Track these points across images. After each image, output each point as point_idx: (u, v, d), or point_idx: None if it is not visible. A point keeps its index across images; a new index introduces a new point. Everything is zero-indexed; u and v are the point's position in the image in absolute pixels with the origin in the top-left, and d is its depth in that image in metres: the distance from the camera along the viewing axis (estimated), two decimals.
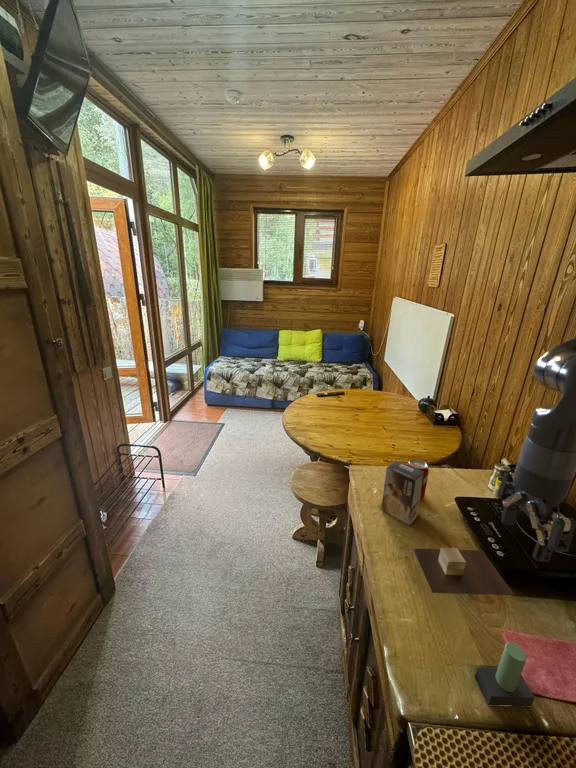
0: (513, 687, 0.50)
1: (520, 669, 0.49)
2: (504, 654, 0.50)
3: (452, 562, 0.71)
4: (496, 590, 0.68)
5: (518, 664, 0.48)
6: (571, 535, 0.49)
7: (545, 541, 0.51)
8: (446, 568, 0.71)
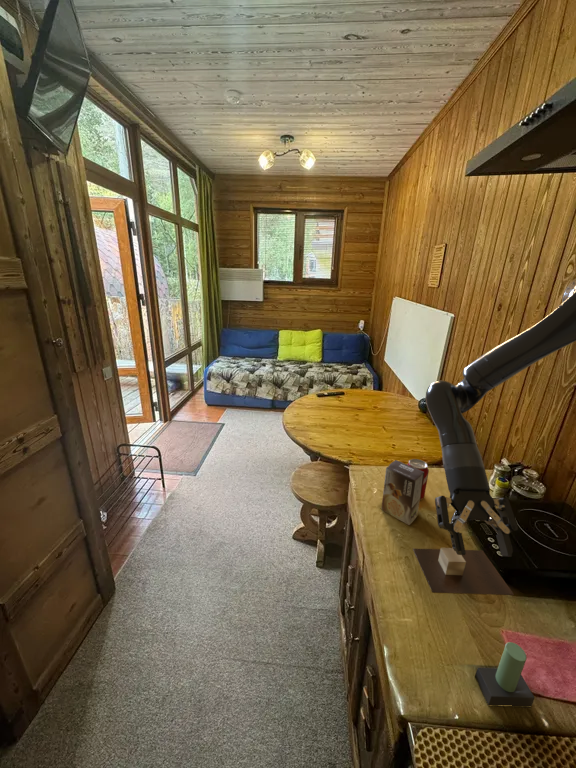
0: (513, 687, 0.50)
1: (520, 669, 0.49)
2: (504, 654, 0.50)
3: (452, 562, 0.71)
4: (496, 590, 0.68)
5: (518, 664, 0.48)
6: (441, 509, 0.61)
7: None
8: (446, 568, 0.71)
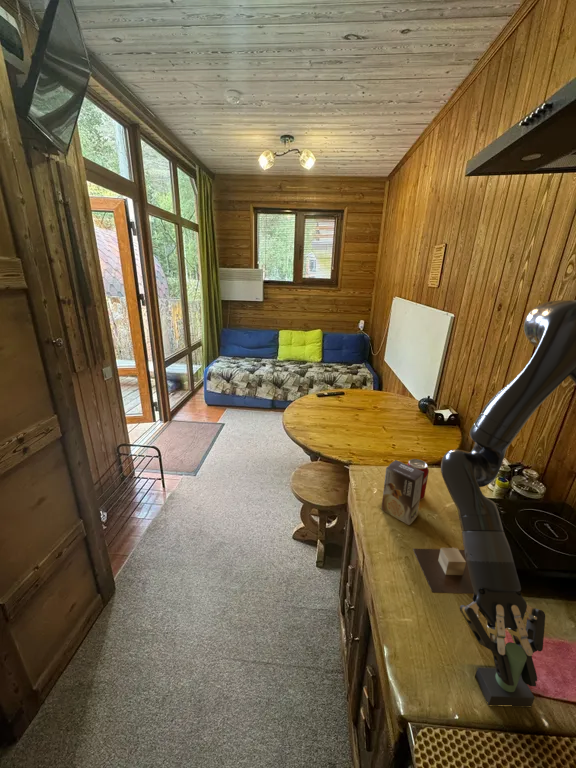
0: (513, 687, 0.50)
1: (520, 669, 0.49)
2: None
3: (452, 562, 0.71)
4: None
5: (518, 664, 0.48)
6: (474, 626, 0.51)
7: None
8: (446, 568, 0.71)
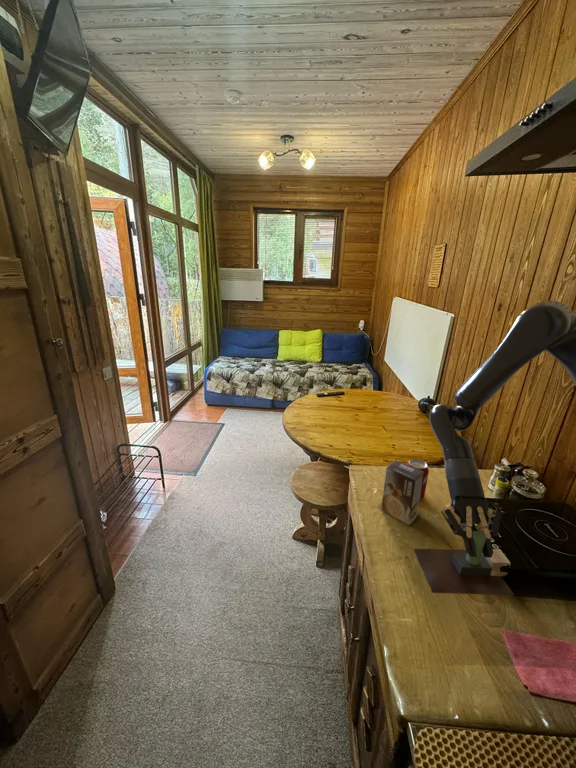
0: (477, 561, 0.71)
1: (481, 546, 0.70)
2: (471, 538, 0.71)
3: (497, 563, 0.71)
4: (496, 590, 0.68)
5: (480, 542, 0.70)
6: (451, 520, 0.72)
7: None
8: None
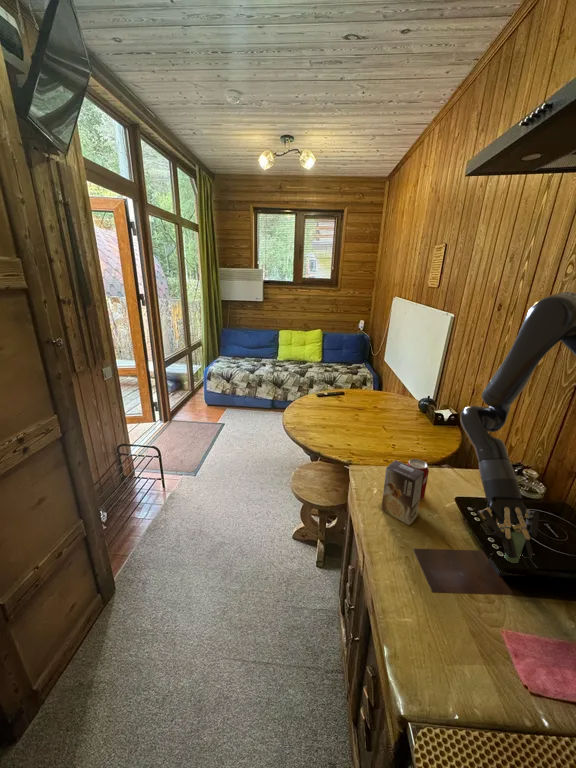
0: (516, 562, 0.71)
1: (521, 547, 0.70)
2: (510, 539, 0.71)
3: None
4: (496, 590, 0.68)
5: (519, 543, 0.70)
6: (489, 521, 0.72)
7: None
8: None
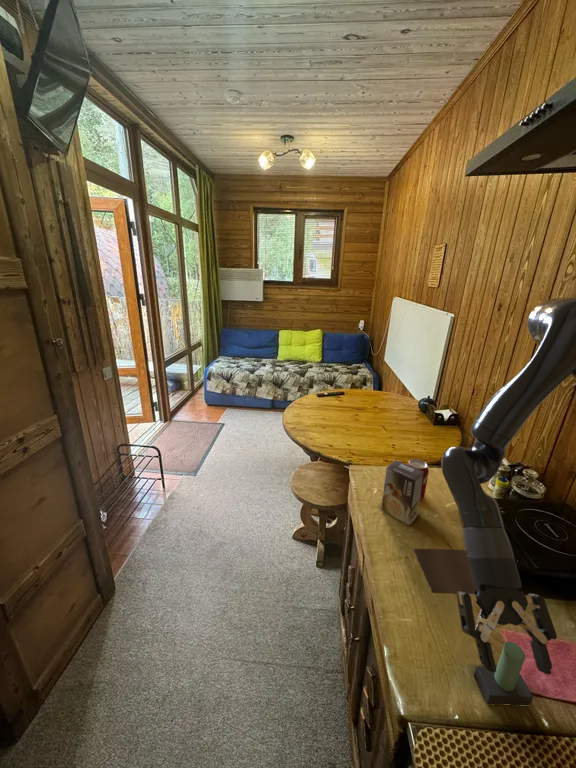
0: (512, 687, 0.50)
1: (519, 668, 0.49)
2: (503, 653, 0.50)
3: None
4: None
5: (516, 663, 0.48)
6: (465, 610, 0.52)
7: None
8: None
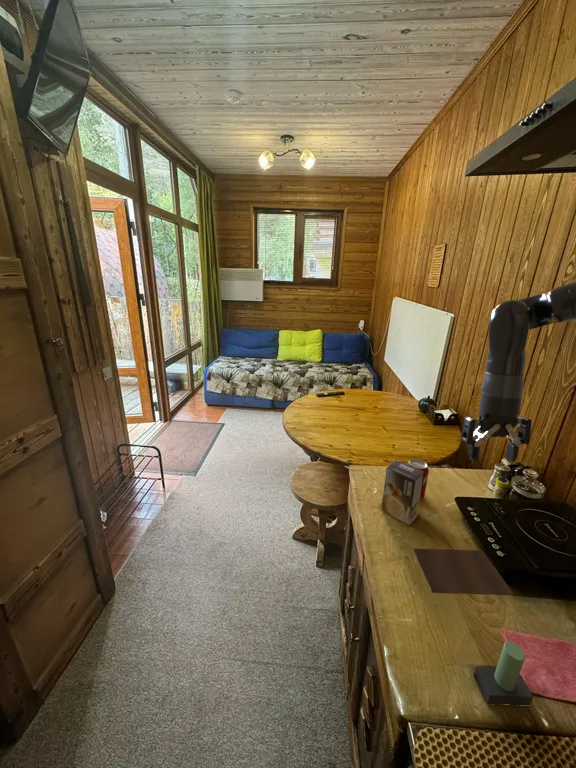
0: (512, 687, 0.50)
1: (519, 668, 0.49)
2: (503, 653, 0.50)
3: None
4: (496, 590, 0.68)
5: (516, 663, 0.48)
6: (468, 430, 0.69)
7: None
8: None
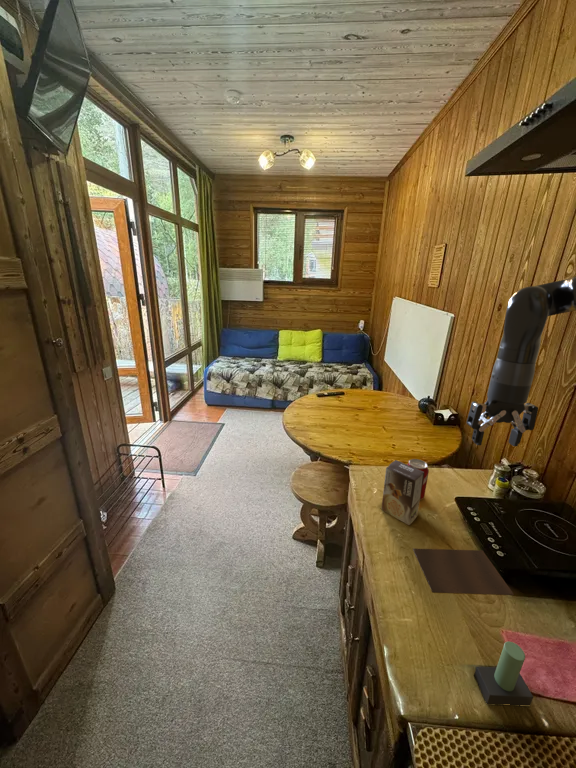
0: (512, 687, 0.50)
1: (519, 668, 0.49)
2: (503, 653, 0.50)
3: None
4: (496, 590, 0.68)
5: (516, 663, 0.48)
6: (474, 415, 0.70)
7: None
8: None
